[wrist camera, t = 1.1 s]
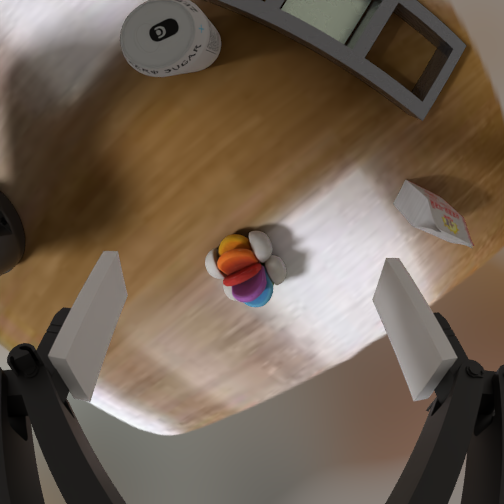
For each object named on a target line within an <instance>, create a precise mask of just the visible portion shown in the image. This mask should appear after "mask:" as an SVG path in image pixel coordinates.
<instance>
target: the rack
mask: <svg viewBox="0 0 504 504" xmlns="http://www.w3.org/2000/svg"><path fill="white" fill-rule="evenodd" d="M205 1H208V2H210V3H213V4H216V5H218V6H221V7H223V8H226V9H228V10H231V11H233V12H236V13H238V14H240V15H243V16H245V17H247V18H250V19H252V20H254V21H256V22H258V23H261V24H263V25H265V26H267V27H269V28H271V29H273V30H275V31H277V32H279V33H281V34H283V35H285V36H287V37H289V38H291V39H293V40H295V41H297V42H299V43H300V44H302V45H304V46H306V47H308V48H310V49H311V50H313V51H315V52H317V53H318V54H320V55H322V56H323V57H325V58H327V59H329V60H330V61H332V62H333V63H335V64H337V65H338V66H340V67H342V68H343V69H345V70H346V71H348V72H349V73H351V74H353V75H354V76H356V77H357V78H359V79H360V80H362V81H363V82H365V83H366V84H367V85H369V86H370V87H372V88H373V89H375V90H376V91H377V92H379V93H380V94H382V95H383V96H384V97H386V98H387V99H389V100H390V101H391V102H393V103H394V104H395V105H397V106H398V107H399V108H400V109H402V110H403V111H404V112H406V113H407V114H408V115H410V116H413V117H415V118H417V119H420V120H422V121H423V120H424V118H425V116H426V115H427V113H428V112H429V110H430V108H431V107H432V105H433V103H434V102H435V100H436V98H437V97H438V95H439V93H440V92H441V90H442V88H443V86H444V85H445V83H446V81H447V80H448V78H449V76H450V74H451V73H452V71H453V69H454V67H455V65H456V64H457V62H458V60H459V58H460V56H461V55H462V53H463V51H464V49H465V47H466V45H465V44H464V43H463V42H462V41H461V40H460V39H459V38H458V37H457V36H456V35H455V34H454V33H453V32H452V31H451V30H450V29H449V28H448V27H447V26H446V25H445V24H444V23H442V22H441V21H440V20H439V19H438V18H437V17H436V16H435V15H433V14H432V13H431V12H430V11H429V10H428V9H426V8H425V7H424V6H423V5H422V4H420V3H419V2H418V1H417V0H373V2H372V3H371V5H370V6H369V8H368V10H367V11H366V13H365V14H364V16H363V18H362V19H361V21H360V22H359V24H358V26H357V27H356V29H355V30H354V32H353V34H352V35H351V37H350V39H349V40H348V42H347V43H346V45H344V44H345V42H346V41H347V39H348V37H349V36H350V34H351V33H352V31H353V29H354V28H355V26H356V25H357V23H358V21H359V20H360V18H361V17H362V15H363V13H364V12H365V10H366V9H367V7H368V5H369V4H370V2H371V1H372V0H287V1H286V2H285V4H284V5H283V7H282V9H279V8H280V7H281V5H282V4H283V2H284V0H266V1H265V2H264V1H262V0H205ZM392 12H394V13H395V14H397V15H398V16H399V17H400V18H402V19H403V20H404V21H406V22H407V23H408V24H409V25H411V26H412V27H413V28H414V29H416V30H417V31H418V32H419V33H421V34H422V35H423V36H424V37H425V38H426V39H428V40H429V41H430V42H431V43H432V44H433V45H434V46H436V47H437V50H436V51H435V53H434V55H433V57H432V58H431V60H430V62H429V64H428V65H427V67H426V69H425V70H424V72H423V74H422V75H421V77H420V79H419V80H418V82H417V84H416V85H415V87H414V89H413V90H412V92H410V91H409V90H407V89H406V88H405V87H404V86H402V85H401V84H400V83H398V82H397V81H396V80H394V79H393V78H392V77H391V76H389V75H388V74H386V73H385V72H384V71H382V70H381V69H380V68H378V67H377V66H375V65H374V64H373V63H371V62H370V61H368V60H367V59H365V57H366V55H367V53H368V52H369V50H370V48H371V47H372V45H373V43H374V42H375V40H376V39H377V37H378V35H379V34H380V32H381V30H382V29H383V27H384V25H385V24H386V22H387V21H388V19H389V17H390V16H391V14H392Z"/></svg>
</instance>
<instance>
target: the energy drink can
mask: <svg viewBox="0 0 504 504" xmlns="http://www.w3.org/2000/svg"><path fill="white" fill-rule="evenodd" d="M120 43H121V49H122V52H123V55H124V57H125V59H126V60H127V62H128V63H129V64H130V65H131V66H132V68H134V69H135V70H137V71H138V72H140V73H142V74H145V75H148V76H153V77H166V76H172V75H178V74H184V73H190V72H197V71H200V70H203V69H205V68H207V67H208V66H210V65H211V64H212V63H213V62H214V61H215V60H216V59H217V57H218V55H219V53H220V50H221V38H220V35H219V33H218V31H217V29H216V28H215V27H214V25H213V24H212V23H211V22H210V20H209V19H208V18H207V17H206V15H205V14H204V13H203V12H202V10H201V9H200V8H199V7H198V6H197V5H196V4H194V3H193V2H191V1H190V0H148V1H146V2H144V3H143V4H141V5H140V6H138V7H137V8H136V9H134V10H133V11H132V12H131V13H130V14H129V16H128V17H127V18H126V20H125V22H124V24H123V26H122V29H121V34H120Z"/></svg>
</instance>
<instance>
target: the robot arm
mask: <svg viewBox="0 0 504 504" xmlns="http://www.w3.org/2000/svg"><path fill="white" fill-rule="evenodd" d="M24 249H25V236H24V231H23V227H22V223H21V221H20V218H19V216H18V214H17V212H16V210H15V208H14V207H13V205H12V204H11V202H10V201H9V200H8V199H7V198H6V196H5V195H4V194H3V193H1V192H0V276H1V275H2V274H5V273H7V272H9V271H10V270H12V269H13V268H14V267H15V265H16V264H17V263H18V262H19V261H20V259H21V258H22V256H23V253H24ZM127 296H128V295H127V291H126V287H125V282H124V278H123V274H122V269H121V264H120V259H119V255H118V251H104V252H103V253H102V255H101V257H100V258H99V260H98V262H97V263H96V265H95V267H94V268H93V270H92V272H91V274H90V275H89V277H88V279H87V281H86V282H85V284H84V286H83V288H82V290H81V291H80V293H79V295H78V297H77V299H76V301H75V302H74V304H73V306H72V308H64V307H63V308H62V309H61V310H60V311H59V312H58V313H57V314H56V315H55V316H54V318H53V320H52V321H51V323H50V326H49V327H48V329H47V332H46V333H45V335H44V337H43V339H42V341H41V342H40V344H39V346H38V348H37V350H36V349H35V348H34V346H32V345H31V344H27V343H23V344H19V345H17V346H16V347H14V348H13V349H12V350H11V351H10V352H9V355H8V357H7V363H8V365H9V366H10V368H11V369H12V370H2V369H1V367H0V504H45V503H44V498H43V494H42V490H41V485H40V481H39V475H38V470H37V464H36V458H35V452H34V444H33V437H32V428H31V424H32V427H33V430H34V432H35V435H36V438H37V440H38V442H39V445H40V448H41V450H42V453H43V455H44V457H45V460H46V462H47V464H48V467H49V469H50V471H51V473H52V475H53V477H54V479H55V482H56V484H57V486H58V488H59V489H60V492H61V494H62V496H63V498H64V499H65V501H66V503H67V504H126V503H125V501H124V500H123V498H122V497H121V495H120V494H119V492H118V491H117V489H116V487H115V486H114V484H113V483H112V481H111V480H110V478H109V477H108V475H107V473H106V472H105V470H104V468H103V467H102V465H101V463H100V462H99V460H98V458H97V456H96V455H95V453H94V451H93V449H92V447H91V446H90V444H89V442H88V440H87V438H86V436H85V434H84V432H83V431H82V429H81V426H80V424H79V423H78V420H77V418H76V416H75V414H74V412H73V410H72V408H71V406H70V404H69V402H68V400H67V399H66V398H67V395H68V393H69V392H70V393H71V394H72V396H73V398H74V399H79V400H84V401H89V402H90V401H91V398H92V394H93V391H94V388H95V385H96V382H97V379H98V376H99V373H100V370H101V367H102V364H103V361H104V358H105V355H106V352H107V349H108V346H109V343H110V341H111V338H112V335H113V332H114V330H115V327H116V324H117V321H118V319H119V316H120V314H121V311H122V308H123V306H124V303H125V301H126V298H127ZM373 302H374V305H375V307H376V309H377V311H378V314H379V316H380V318H381V320H382V323H383V325H384V327H385V330H386V332H387V334H388V337H389V339H390V342H391V344H392V346H393V349H394V351H395V354H396V356H397V359H398V361H399V364H400V366H401V369H402V371H403V374H404V377H405V379H406V382H407V384H408V387H409V390H410V392H411V395H412V398H413V401H418V400H423V399H427V398H429V396H430V395H431V394H432V393H433V391H435V393H436V395H437V397H436V398H435V400H434V401H433V402H432V403H431V405H430V406H429V407H428V409H427V411H429V409H431V410H430V412H429V415H428V417H427V420H426V422H425V425H424V427H423V430H422V432H421V434H420V436H419V439H418V441H417V443H416V446H415V447H414V450H413V452H412V454H411V456H410V458H409V460H408V462H407V464H406V466H405V468H404V470H403V472H402V474H401V476H400V478H399V480H398V482H397V484H396V486H395V487H394V489H393V491H392V493H391V495H390V496H389V498H388V500H387V502H386V503H385V504H448V502H449V499H450V497H451V495H452V492H453V490H454V487H455V484H456V482H457V479H458V476H459V474H460V471H461V468H462V465H463V462H464V459H465V456H466V453H467V460H466V471H465V479H464V486H463V493H462V499H461V504H504V365H502V366H500V368H499V369H498V370H497V372H494V371H486V370H484V369H483V367H482V366H481V365H480V364H479V363H478V362H476V361H474V360H469V359H468V357H467V356H466V354H465V352H464V350H463V348H462V346H461V345H460V343H459V341H458V339H457V337H456V336H455V334H454V332H453V330H451V327H450V325H449V323H448V322H447V320H446V319H445V318H444V317H443V316H442V315H441V314H440V313H433V312H432V310H431V309H430V307H429V305H428V304H427V302H426V300H425V299H424V297H423V295H422V294H421V292H420V290H419V289H418V287H417V286H416V284H415V282H414V281H413V279H412V278H411V276H410V274H409V273H408V271H407V270H406V268H405V267H404V265H403V264H402V262H401V261H400V259H399V258H386V260H385V263H384V266H383V270H382V273H381V276H380V279H379V282H378V285H377V288H376V291H375V294H374V297H373Z"/></svg>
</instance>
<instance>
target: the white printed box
mask: <svg viewBox="0 0 504 504" xmlns="http://www.w3.org/2000/svg"><path fill="white" fill-rule="evenodd" d="M393 204H394V206H395V207H396V208H397V209H398V210H399V211H400V212H401V214H402V215H403V216H404V217H405V218H406V219H407V220H408V222H409V223H410V224H411V225H412V226H413V227H416V228H418V229H420V230H423V231H425V232H427V233H430V234H432V235H434V236H437V237H439V238H441V239H443V240H446V241H448V242H451V243H457V244H463V245H466V246H469V247H471V246H474V244H473V242H472V240H471V238H470V235H469V232H468V229H467V226H466V222H465V219H464V217H463V216H462V215H460V214H459V213H458V212H457V211H456V210H455V209H454V208H453V207H452V206H451V205H449V204H448V203H447V202H446V201H445V200H444V199H443V198H441V197H440V196H438V195H436V194H434V193H432V192H430V191H428V190H426V189H424V188H422V187H420V186H418V185H416V184H414V183H412V182H410V181H408V180H405V182H404V184H403V186H402V188H401V190H400V192H399V193H398V195H397V197H396V199H395V201H394V203H393ZM470 245H471V246H470ZM471 248H472V247H471Z"/></svg>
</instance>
